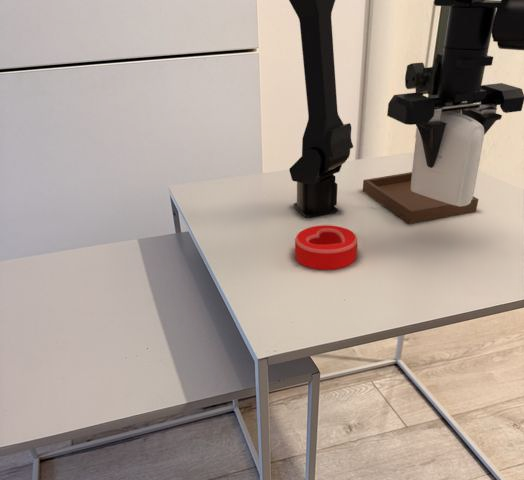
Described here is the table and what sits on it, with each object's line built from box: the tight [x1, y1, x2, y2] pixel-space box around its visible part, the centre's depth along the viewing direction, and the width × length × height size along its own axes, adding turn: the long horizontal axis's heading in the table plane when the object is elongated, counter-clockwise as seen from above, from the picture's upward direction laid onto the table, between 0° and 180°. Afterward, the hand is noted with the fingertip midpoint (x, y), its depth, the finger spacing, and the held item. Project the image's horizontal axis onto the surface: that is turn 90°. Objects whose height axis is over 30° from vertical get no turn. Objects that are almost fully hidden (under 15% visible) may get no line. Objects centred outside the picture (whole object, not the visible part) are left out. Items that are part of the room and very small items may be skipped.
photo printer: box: [411, 111, 485, 206], centre depth 80 cm, size 10×4×12 cm, turn 36°
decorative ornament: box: [294, 224, 359, 271], centre depth 84 cm, size 10×10×3 cm
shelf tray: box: [362, 171, 479, 225], centre depth 101 cm, size 14×18×2 cm
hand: (445, 164), depth 81 cm, fingers closed on photo printer, 5 cm apart
